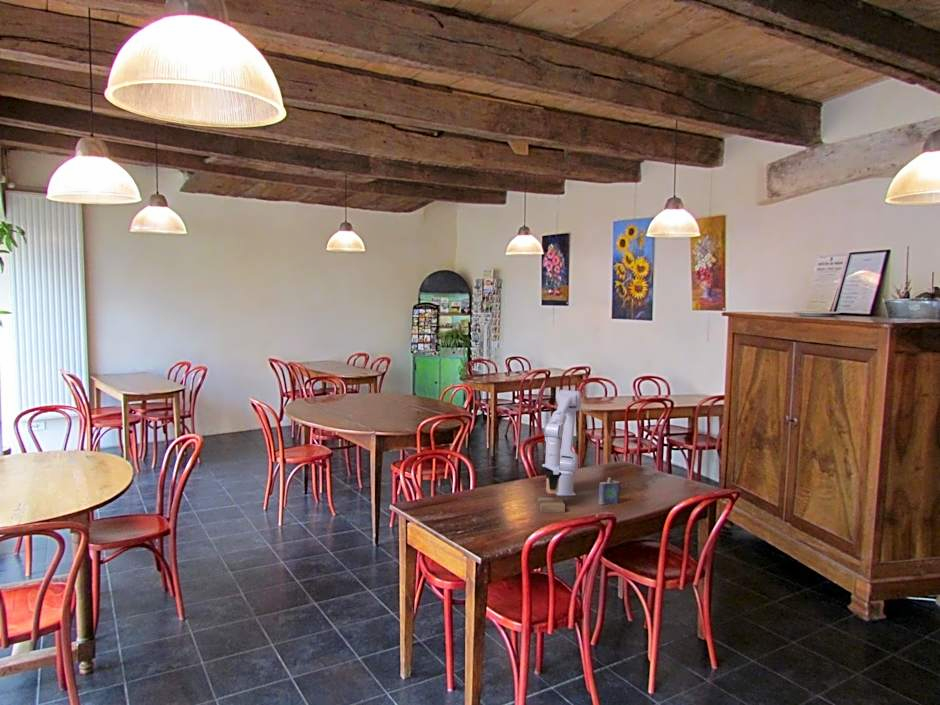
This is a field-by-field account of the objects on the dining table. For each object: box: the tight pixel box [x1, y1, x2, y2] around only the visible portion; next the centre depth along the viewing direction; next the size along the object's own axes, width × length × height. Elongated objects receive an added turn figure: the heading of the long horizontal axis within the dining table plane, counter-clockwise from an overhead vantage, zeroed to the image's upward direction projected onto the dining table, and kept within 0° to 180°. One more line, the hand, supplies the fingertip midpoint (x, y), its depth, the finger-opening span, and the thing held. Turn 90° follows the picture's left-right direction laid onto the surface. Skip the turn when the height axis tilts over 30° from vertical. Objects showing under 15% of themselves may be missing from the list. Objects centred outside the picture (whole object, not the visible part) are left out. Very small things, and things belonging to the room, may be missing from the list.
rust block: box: [545, 478, 559, 494], centre depth 253 cm, size 4×4×5 cm
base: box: [537, 497, 566, 513], centre depth 253 cm, size 9×9×3 cm
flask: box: [597, 477, 621, 506], centre depth 261 cm, size 9×3×11 cm, turn 109°
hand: (551, 487), depth 253 cm, fingers closed on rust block, 4 cm apart
